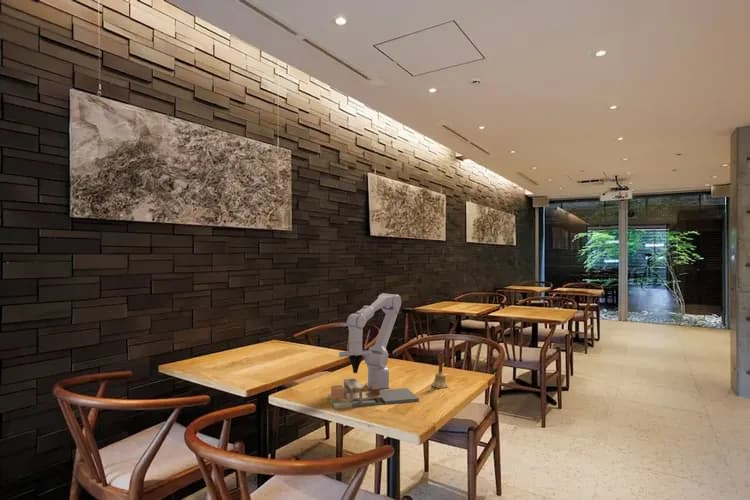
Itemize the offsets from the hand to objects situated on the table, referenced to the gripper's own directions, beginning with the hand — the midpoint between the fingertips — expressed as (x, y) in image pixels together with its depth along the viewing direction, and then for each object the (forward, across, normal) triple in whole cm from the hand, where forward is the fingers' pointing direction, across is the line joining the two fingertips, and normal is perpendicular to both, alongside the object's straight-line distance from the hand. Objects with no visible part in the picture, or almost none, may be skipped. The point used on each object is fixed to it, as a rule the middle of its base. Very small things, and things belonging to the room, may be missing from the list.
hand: (355, 372), depth 186 cm
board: (+9, +6, -8) cm, 14 cm away
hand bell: (+10, +42, +2) cm, 43 cm away
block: (+7, -9, -8) cm, 14 cm away
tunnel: (+8, -3, -8) cm, 12 cm away
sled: (+8, -2, -8) cm, 11 cm away
